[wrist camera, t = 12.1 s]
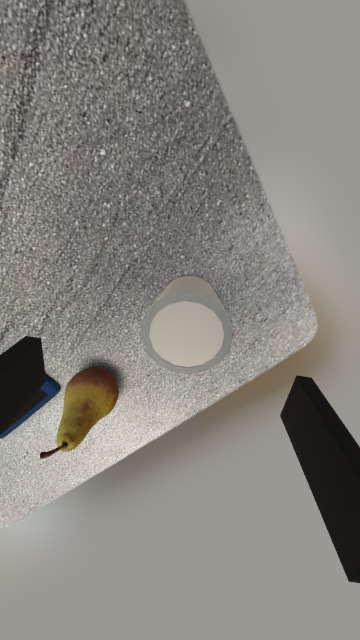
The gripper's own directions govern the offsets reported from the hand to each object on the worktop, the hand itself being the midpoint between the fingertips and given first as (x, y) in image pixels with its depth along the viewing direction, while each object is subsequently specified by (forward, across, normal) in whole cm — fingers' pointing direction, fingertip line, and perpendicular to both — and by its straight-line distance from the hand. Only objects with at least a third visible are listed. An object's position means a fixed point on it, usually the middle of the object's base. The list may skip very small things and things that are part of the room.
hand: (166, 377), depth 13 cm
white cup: (+13, +1, 0) cm, 13 cm away
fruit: (+13, -8, -11) cm, 19 cm away
